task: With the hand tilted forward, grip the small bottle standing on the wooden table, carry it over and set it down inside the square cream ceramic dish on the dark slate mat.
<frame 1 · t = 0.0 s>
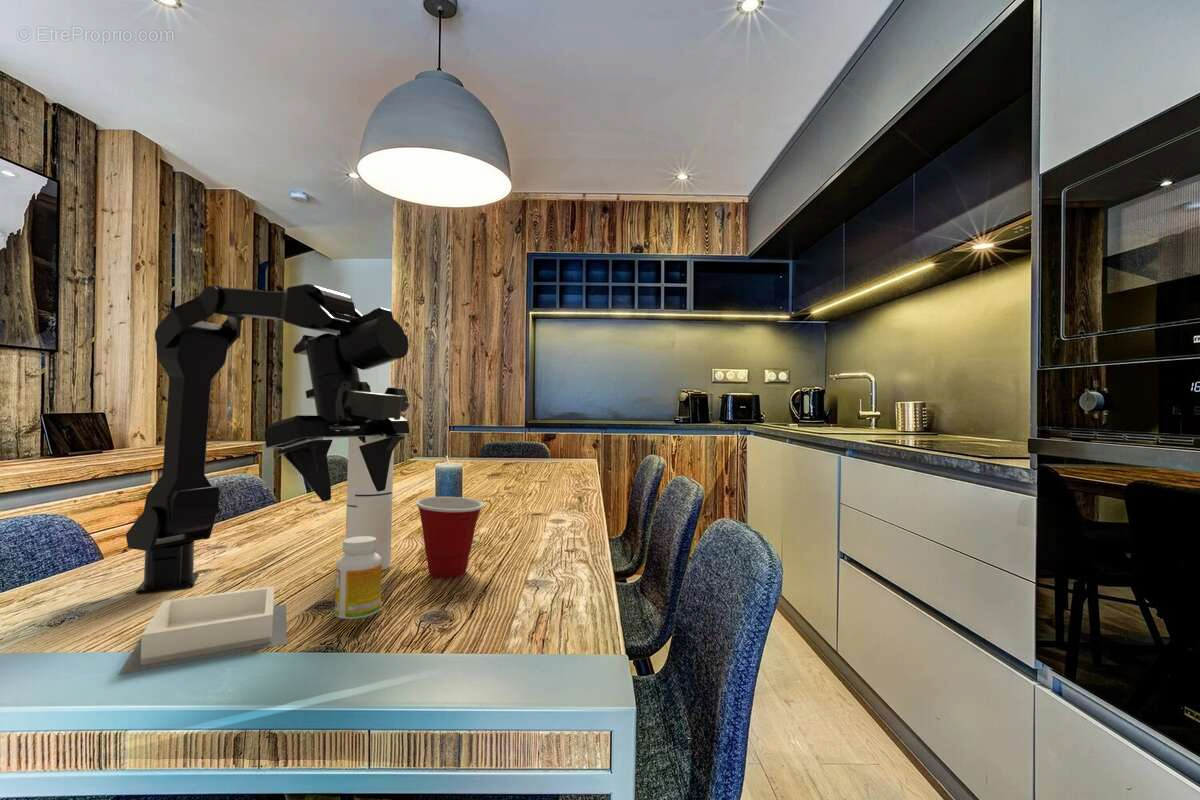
hand: (355, 495, 68), 15 cm above the table, tool pointing down, fingers open, 9 cm apart
dish: (215, 633, 60), resting on mat
mat: (215, 638, 60), on the table
supplement bottle: (357, 616, 68), on the table
cylindrical container: (368, 568, 89), on the table
plastic cup: (449, 574, 86), on the table
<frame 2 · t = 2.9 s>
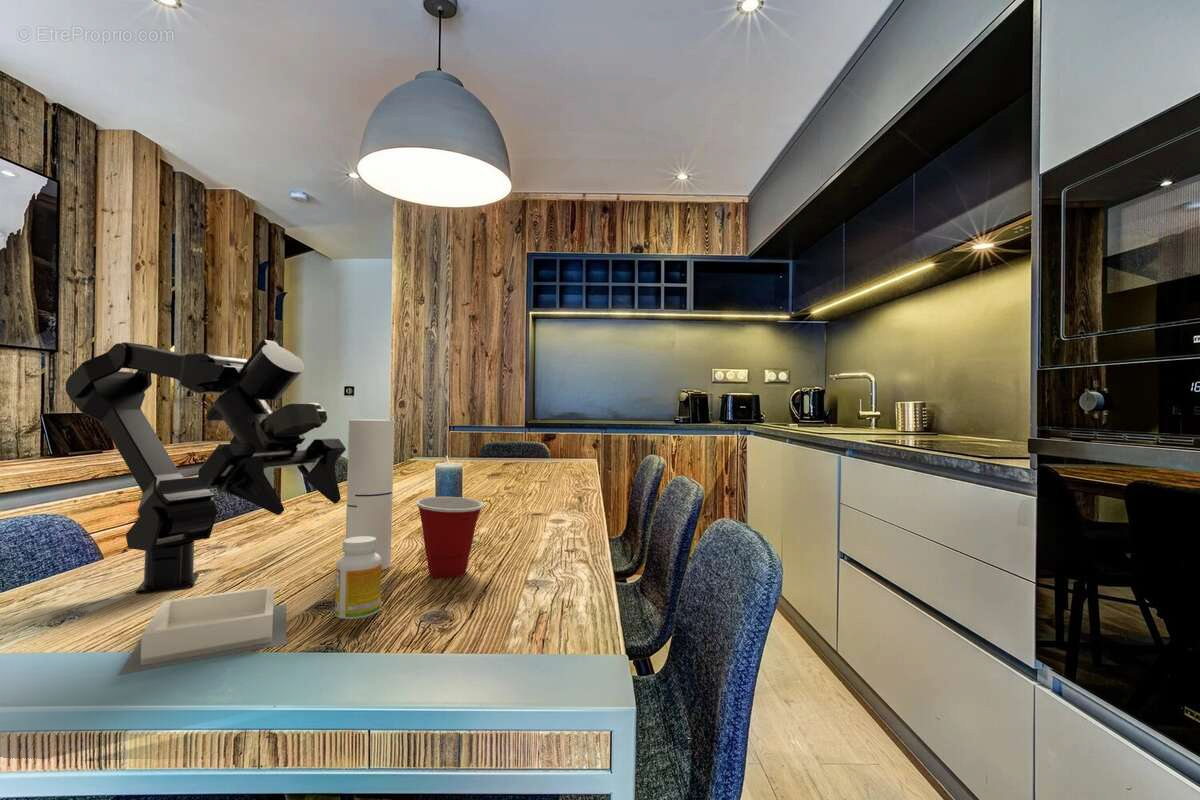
hand: (311, 506, 71), 13 cm above the table, tool tilted 45°, fingers open, 9 cm apart
nothing on the table moved.
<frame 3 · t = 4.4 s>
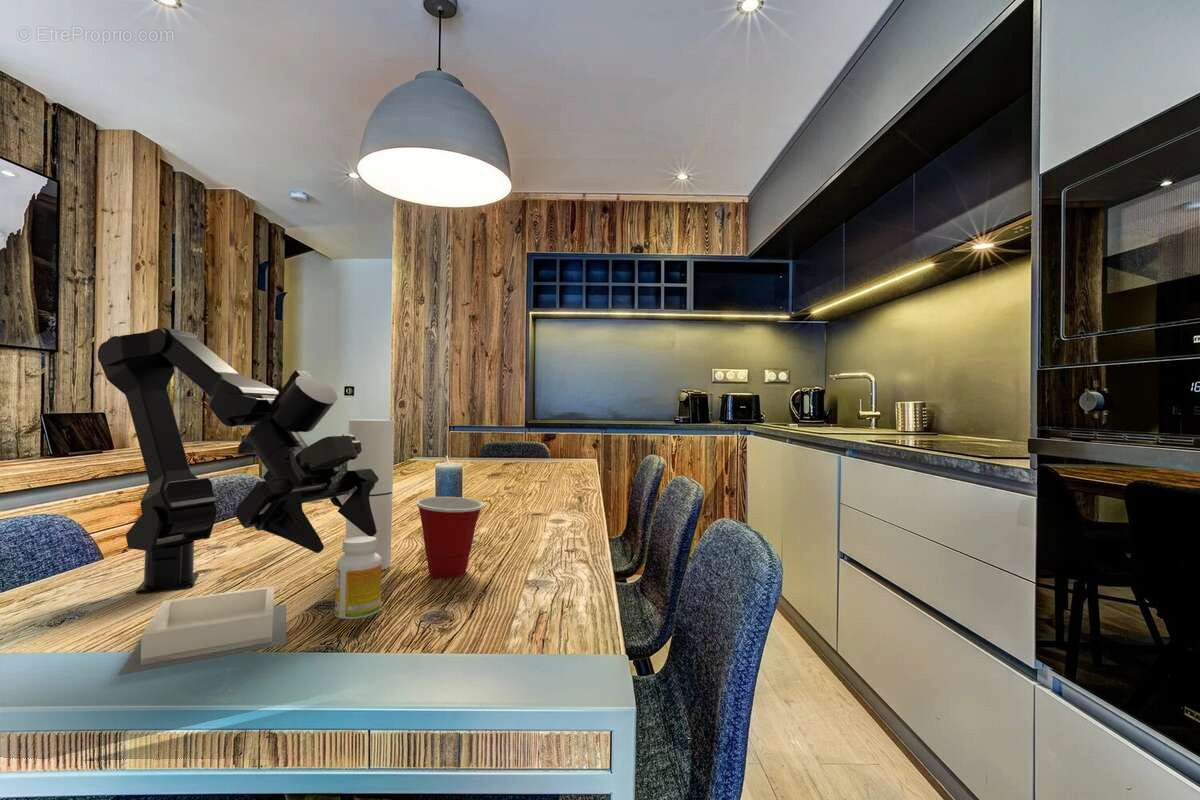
hand: (349, 542, 69), 9 cm above the table, tool tilted 45°, fingers open, 9 cm apart
nothing on the table moved.
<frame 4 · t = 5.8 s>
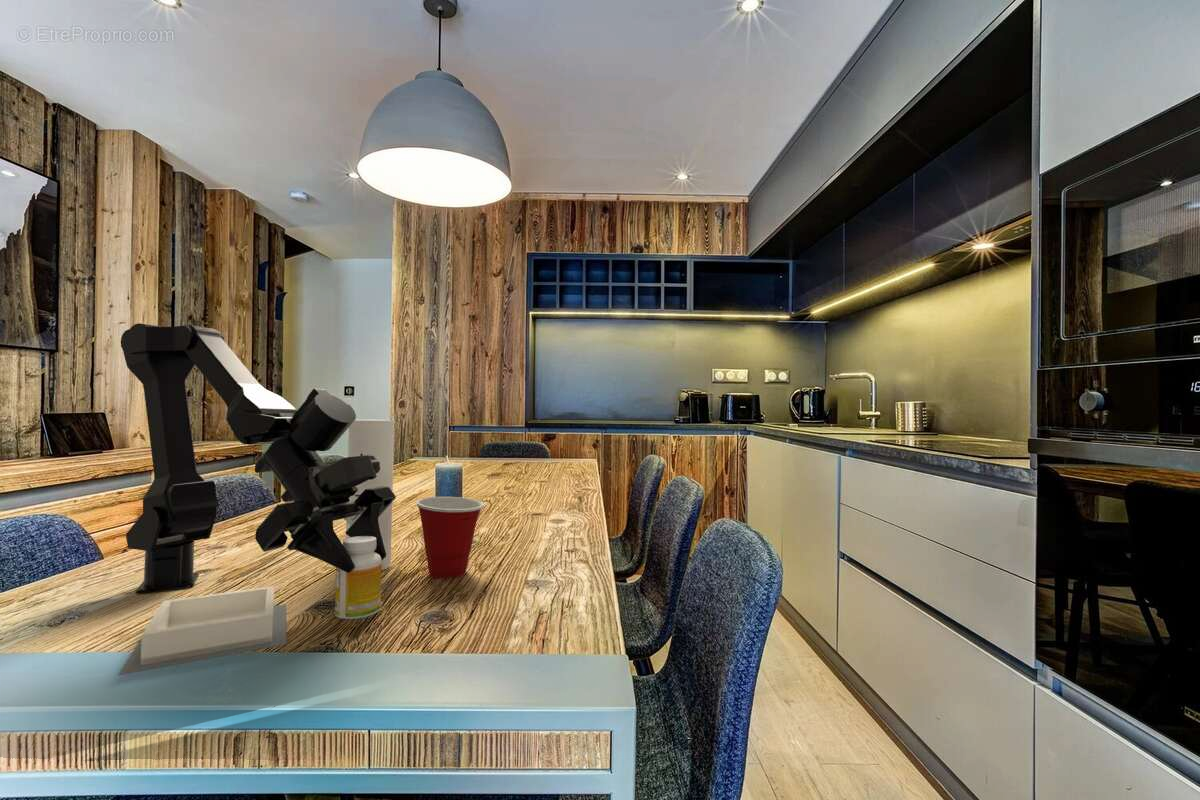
hand: (368, 564, 68), 7 cm above the table, tool tilted 45°, fingers closed on supplement bottle, 5 cm apart
supplement bottle: (357, 616, 68), on the table, touching gripper
everything else where it was.
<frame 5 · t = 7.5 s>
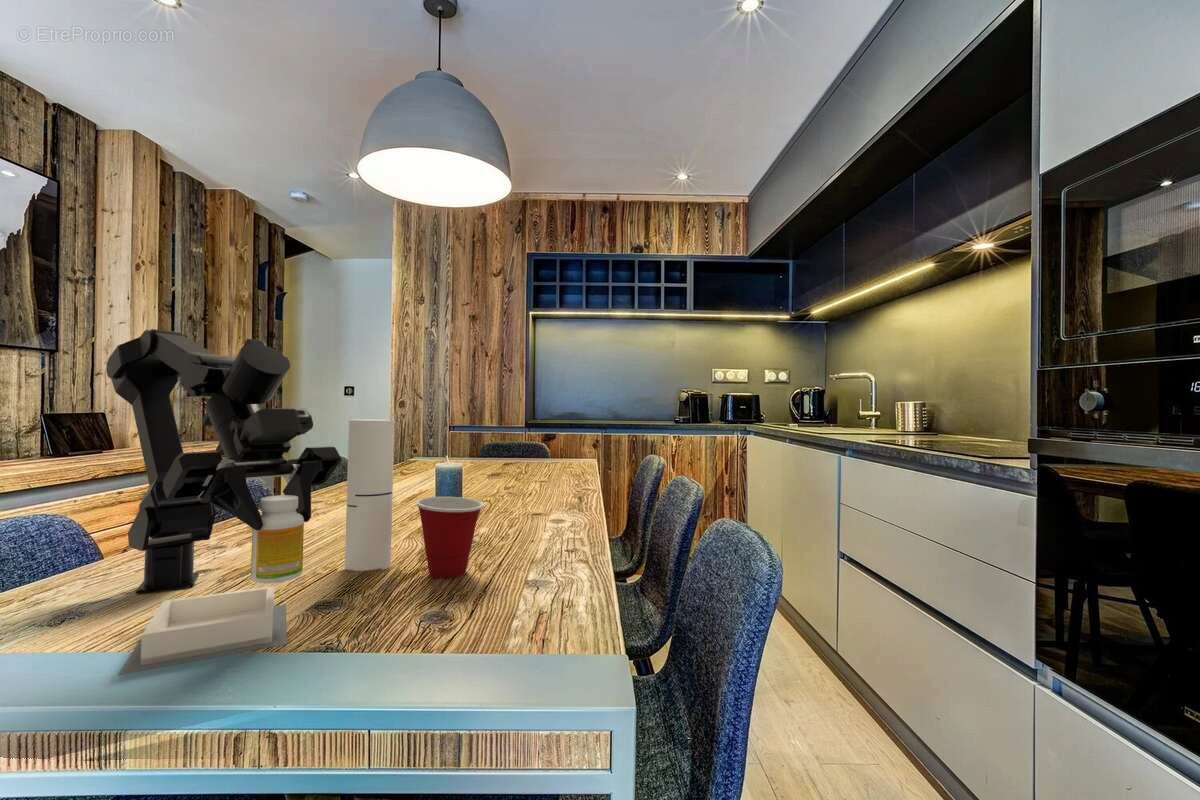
hand: (284, 523, 63), 13 cm above the table, tool tilted 45°, fingers closed on supplement bottle, 5 cm apart
supplement bottle: (277, 578, 64), point 6 cm above the table, touching gripper
everything else where it was.
when the fingers open (9 cm above the table, at t = 9.2 s): supplement bottle stays where it is, resting on dish.
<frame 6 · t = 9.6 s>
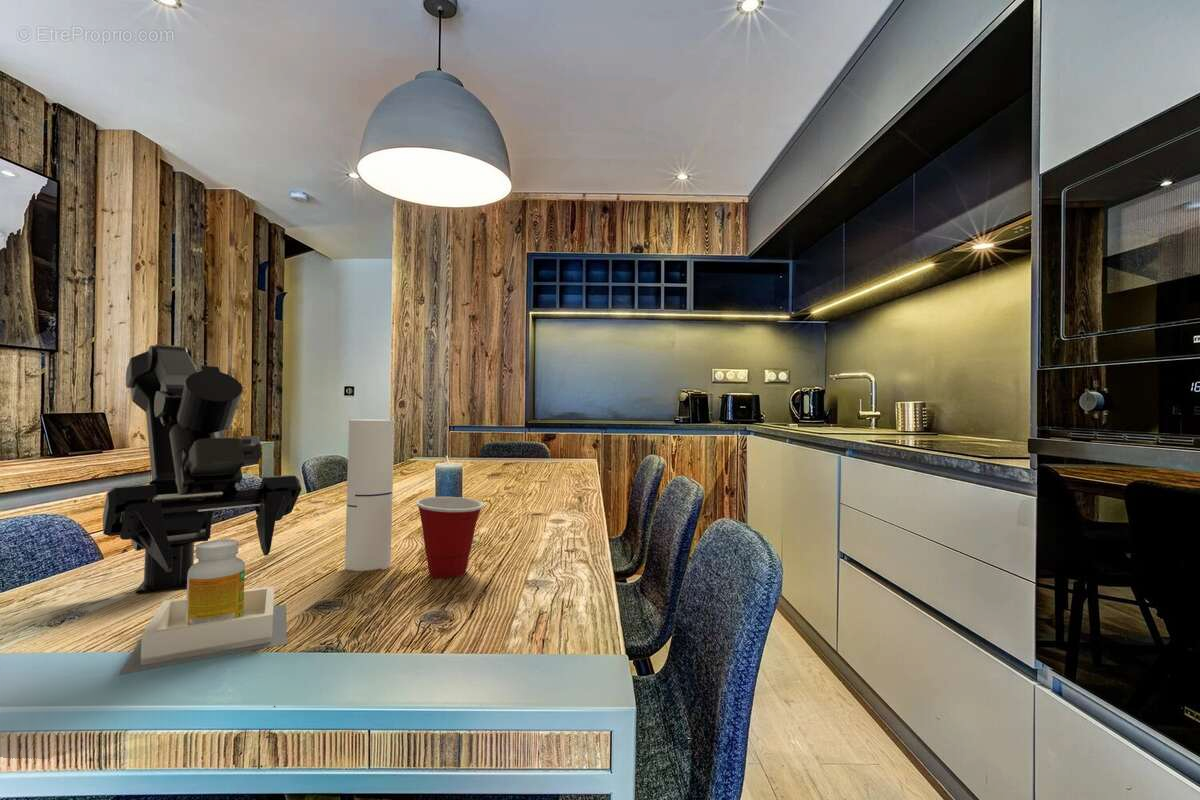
hand: (221, 561, 60), 9 cm above the table, tool tilted 45°, fingers open, 9 cm apart
supplement bottle: (215, 629, 60), point 1 cm above the table, touching dish
everything else where it was.
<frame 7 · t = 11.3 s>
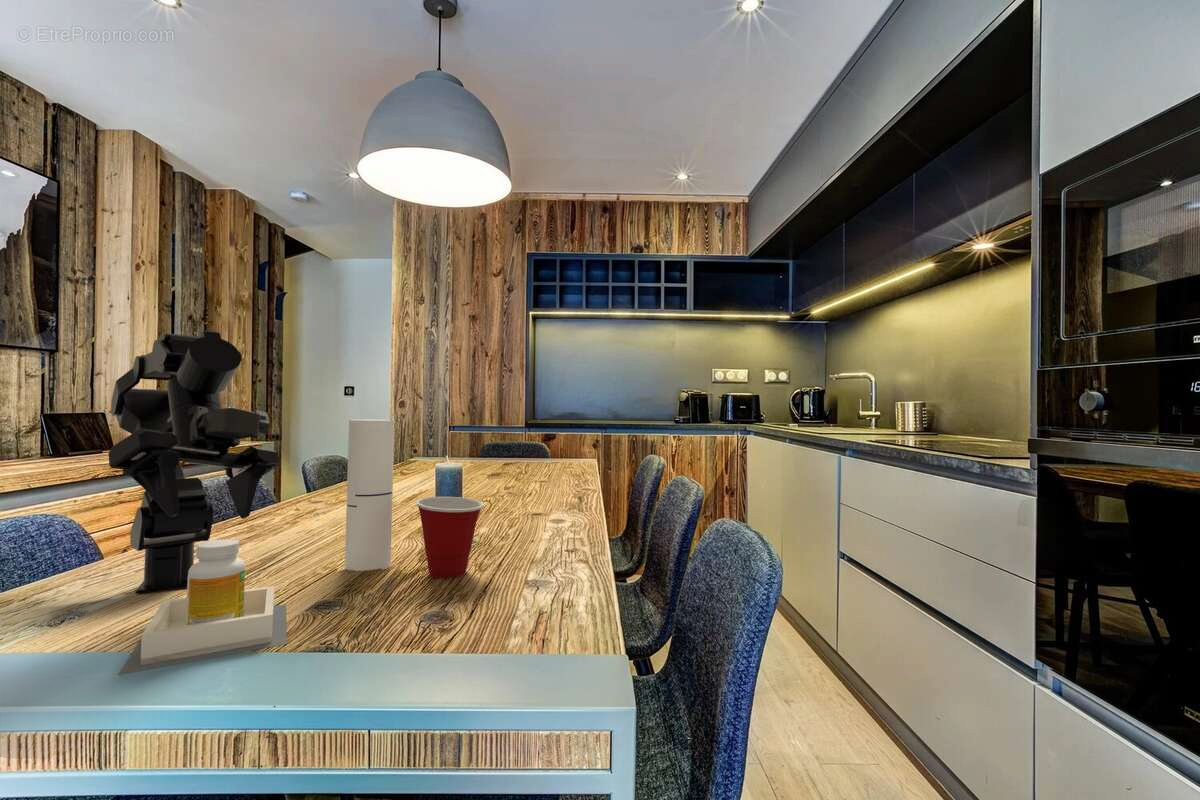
hand: (212, 516, 67), 13 cm above the table, tool tilted 30°, fingers open, 9 cm apart
nothing on the table moved.
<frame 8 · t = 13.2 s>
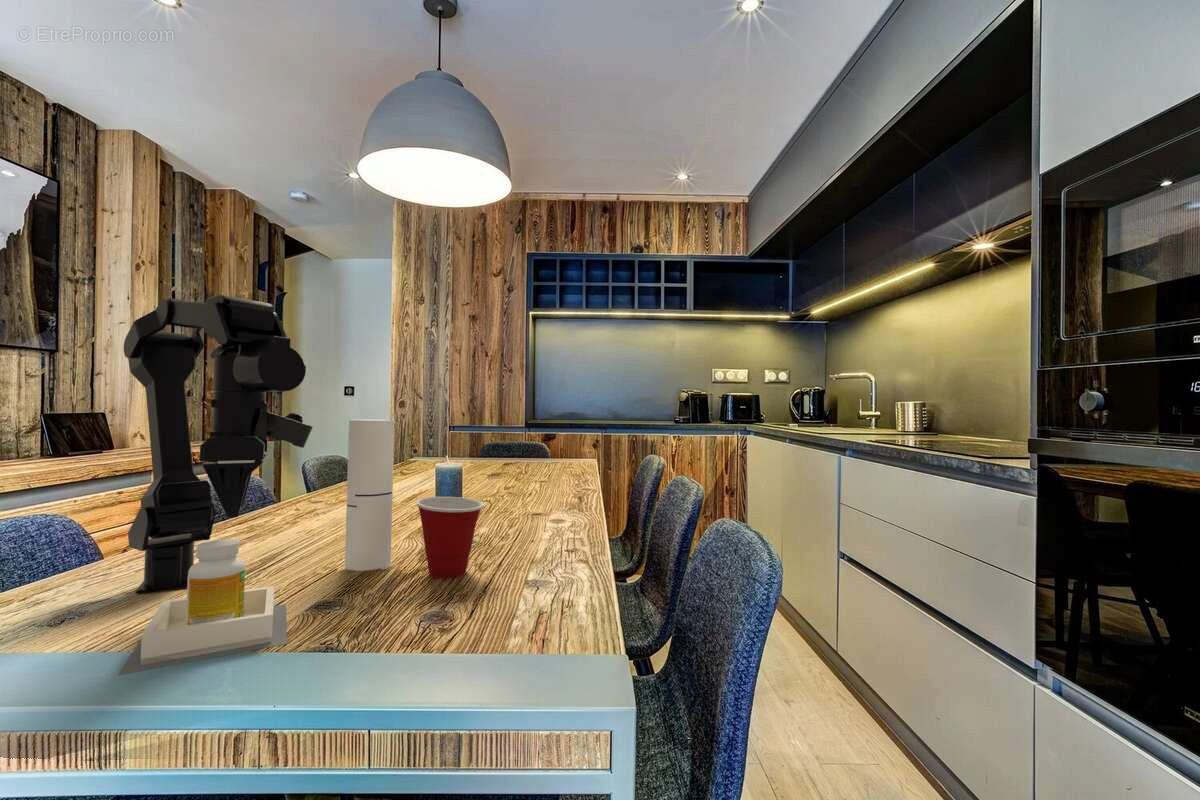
hand: (236, 511, 69), 13 cm above the table, tool pointing down, fingers open, 9 cm apart
nothing on the table moved.
at the end: supplement bottle inside the target area on the dish (0.2 cm from its centre), point 0.4 cm above the dish's base; supplement bottle tilted 0°; the gripper is holding nothing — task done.
